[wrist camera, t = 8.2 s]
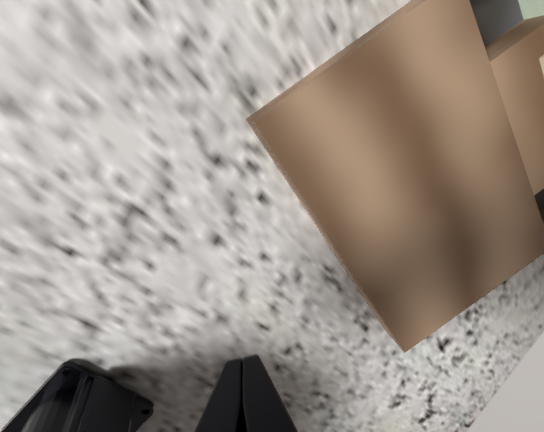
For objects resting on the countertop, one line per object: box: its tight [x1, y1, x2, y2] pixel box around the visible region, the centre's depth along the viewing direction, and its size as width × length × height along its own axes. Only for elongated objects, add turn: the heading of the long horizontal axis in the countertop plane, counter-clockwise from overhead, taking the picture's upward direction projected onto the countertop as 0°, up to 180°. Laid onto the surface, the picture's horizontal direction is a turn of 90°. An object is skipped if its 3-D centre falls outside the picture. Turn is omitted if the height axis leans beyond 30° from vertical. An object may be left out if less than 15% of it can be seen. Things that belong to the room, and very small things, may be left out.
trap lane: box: [246, 0, 544, 352], centre depth 21 cm, size 22×18×4 cm
